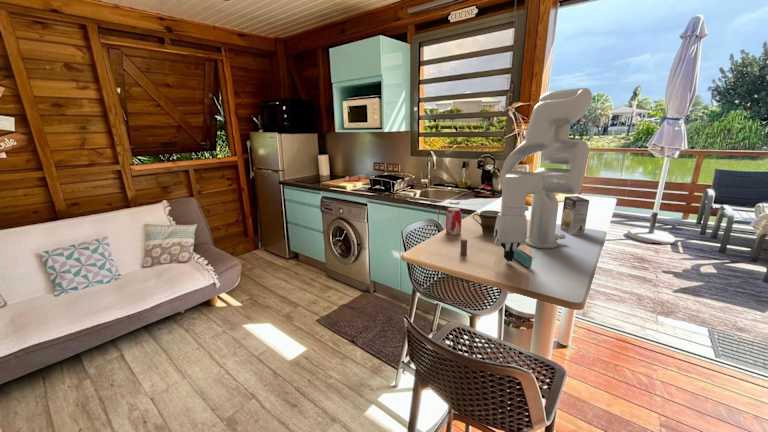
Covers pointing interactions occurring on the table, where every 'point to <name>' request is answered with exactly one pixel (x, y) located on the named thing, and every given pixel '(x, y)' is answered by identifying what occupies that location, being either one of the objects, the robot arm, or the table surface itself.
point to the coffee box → (574, 215)
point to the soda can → (453, 221)
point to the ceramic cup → (488, 221)
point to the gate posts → (463, 247)
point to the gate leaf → (522, 257)
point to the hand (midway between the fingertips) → (508, 260)
